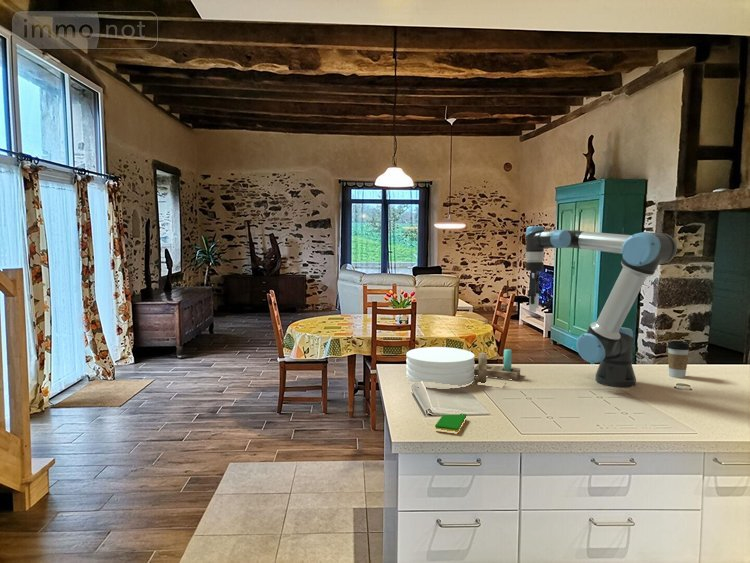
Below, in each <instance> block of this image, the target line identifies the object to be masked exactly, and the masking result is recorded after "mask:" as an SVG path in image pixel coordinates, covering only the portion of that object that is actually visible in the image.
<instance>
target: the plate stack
mask: <svg viewBox="0 0 750 563" xmlns="http://www.w3.org/2000/svg"><path fill="white" fill-rule="evenodd" d="M405 360H406V366H405V367H406V368H405V369H406V370H405V371H406V372H405V374H406V375H405V376H406V377H408V378H409V380H410V381H412V382H421V381H423V382H435V383H442V384H450V385H458V386H462V385H466V384H469V383H471V382H472V381H473V382H474V383H475V376H474V369H475V353H473V352H472V351H470V350H467V349H461V348H456V347H448V346H447V347H445V346H443V347H442V346H429V347H428V346H427V347H418V348H413V349H410V350H408V351H407V352H406V359H405ZM473 382H472V383H473ZM474 383H473V384H474Z"/></svg>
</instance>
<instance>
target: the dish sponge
mask: <svg viewBox="0 0 750 563" xmlns="http://www.w3.org/2000/svg"><path fill="white" fill-rule="evenodd" d="M462 414H463V415H462ZM466 416H467V417H468V414H467V415H466V413H461V414H460V415H443V414H442V416H441V417H440V418H439V419H438V421H437V422H436V424H435V425H434V426H435V427H434V429H435V428H436V429H441V430H447V431H455V432H458V431H459V429H460V427H461V425H462V423H463V422H464V419H465V418H466Z"/></svg>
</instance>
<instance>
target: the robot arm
mask: <svg viewBox="0 0 750 563" xmlns="http://www.w3.org/2000/svg"><path fill="white" fill-rule="evenodd" d="M567 248H568V249H579V250H590V251H598V252H605V253H613V254H622V259H621V261H620V264H621V266H622V268H621V271H620V273H619V275H618V277H617V279H616V281H615V283H614V285H613V287H612V289H611V291H610V293H609V295H608V298H607V299H606V302H605V303H604V306H602V307H603V308H602V310H601V312H600V313H599V316H598V317H597V320H596V321H593V322H591V323H590V324H589V326H588V329H587V331H586V332H585V333H582V334H581V335H579V336H578V338H577V339H576V345H575V346H576V350H577V352H578V355H579V356H580V357H581V358H582V359H583V361H585V362H587V363H590V364H591V363H592V364H595V363H599V365H598V368H597V370H596V372H595V378H594V380H595V382H597V383H599V384H601V385H604V386H609V387H610V386H611V387H617V388H618V387H619V388H631V387H634V386H636V385H637V377H636V374H635V371H634V366H633V348H634V346H633V345H634V331H633V330H632V329H631V328H628V327H622V326H623V324H624V322H625V320H626V318H627V316H628V314H629V312H630V310H631V309H632V307H633V305H634V303H635V301H636V299H637V298H638V295H639V293H640V291H641V290H642V287H643V285H644V283H645V281H646V280H647V277H648V278H649V277H651V276H653V275H654V274H655V272H656V270H657V268H658V266H659V265H662V264H663V265H664V264H666V263H669V262H671V261H672V260H673V259H674V257H675V256H676V254H677V251H678V245H677V241H676V240H675V239H674V238H673V237H672V236H671V235H670V234H667V233H664V232H648V231H646V232H645V231H642V232H638V233H634V234H632V235H631V234H619V233H607V232H597V231H596V232H595V231H583V230H578V229H576V230H575V229H573V230H566V229H554V230H553V229H552V230H546V229H545V227H544V226H543V225H531V226H528V227H526V234H525V254H524V256H525V261H526V262H525V270H526V271H528V272H529V271H530V274H529V275H528V276H529V277H528V278H529V291H528V294H527V297H529V306H528V310H529V311H528V312H531V313H532V312H534V313H536V312H537V309H539V305H540V304H539V300H540V299H539V298H540V296H539V294H541V290H540V271H541V272H542V271H544V270H545V269H544V264H545V263H544V262H543V261H545V259H544V258H545V249H567Z"/></svg>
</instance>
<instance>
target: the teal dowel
mask: <svg viewBox="0 0 750 563" xmlns="http://www.w3.org/2000/svg"><path fill="white" fill-rule="evenodd" d="M512 352H513V351H512V349H510V348H508V349H507V348H505V349H503V366H504V371H511V367H512V362H513V360H512V357H513V355H512V354H513V353H512Z"/></svg>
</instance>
